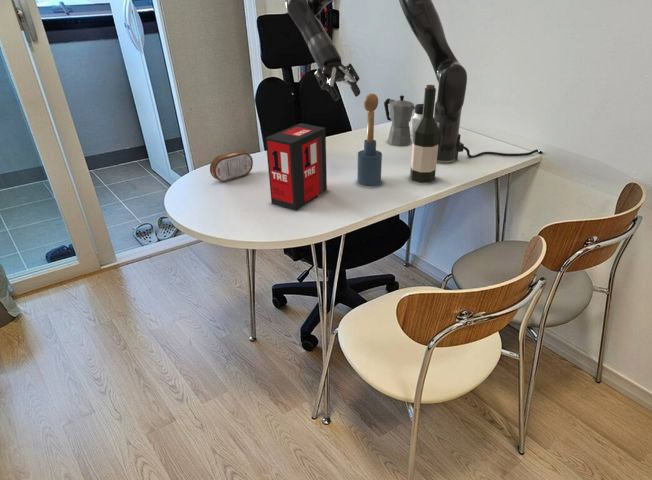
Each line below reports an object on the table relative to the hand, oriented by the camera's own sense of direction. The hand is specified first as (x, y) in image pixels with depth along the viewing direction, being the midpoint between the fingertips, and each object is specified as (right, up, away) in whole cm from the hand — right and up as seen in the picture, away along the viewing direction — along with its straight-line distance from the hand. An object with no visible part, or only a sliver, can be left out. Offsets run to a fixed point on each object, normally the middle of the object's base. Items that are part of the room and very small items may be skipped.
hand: (348, 97), depth 154 cm
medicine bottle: (+29, +4, +52) cm, 60 cm away
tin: (-38, -24, +10) cm, 46 cm away
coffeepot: (+19, -2, +43) cm, 47 cm away
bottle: (+7, -25, +8) cm, 27 cm away
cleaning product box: (-15, -32, -2) cm, 35 cm away
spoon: (+7, -25, +7) cm, 27 cm away
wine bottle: (+25, -24, +11) cm, 36 cm away
